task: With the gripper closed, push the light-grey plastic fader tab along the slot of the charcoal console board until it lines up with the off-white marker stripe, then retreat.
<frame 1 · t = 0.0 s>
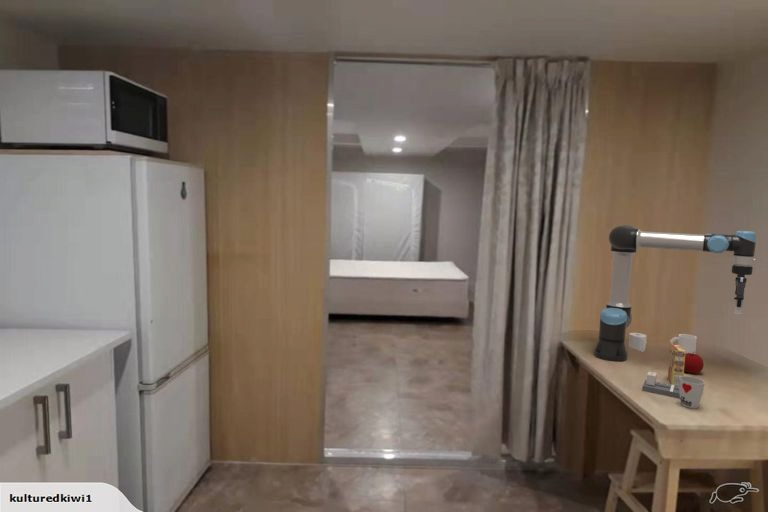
hand: (737, 311, 223), 28 cm above the table, fingers open, 13 cm apart
apple: (690, 372, 222), on the table
toilet paper: (637, 348, 258), on the table
fader tab: (651, 378, 200), point 4 cm above the table, slide at 0.0 cm
mug: (681, 354, 249), on the table
console: (668, 392, 197), on the table
cup: (689, 405, 185), on the table
candy box: (674, 382, 209), on the table
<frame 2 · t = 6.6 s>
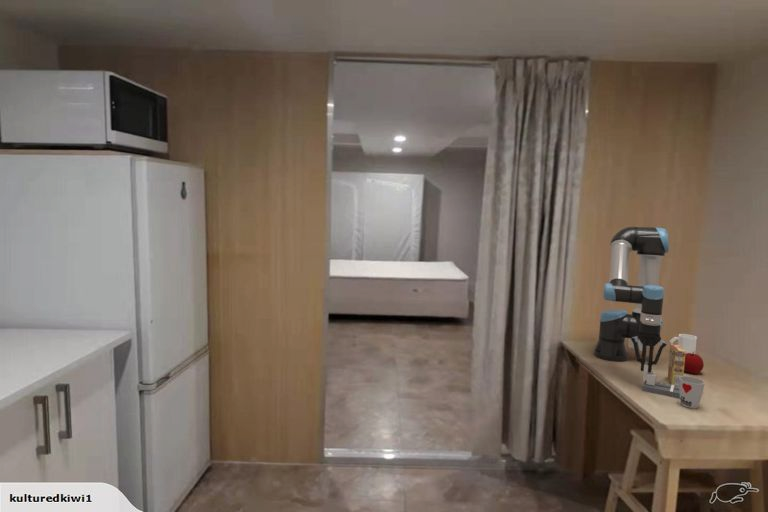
hand: (645, 379, 201), 4 cm above the table, fingers closed
fader tab: (651, 378, 200), point 4 cm above the table, slide at 0.0 cm, touching gripper
everything else where it was.
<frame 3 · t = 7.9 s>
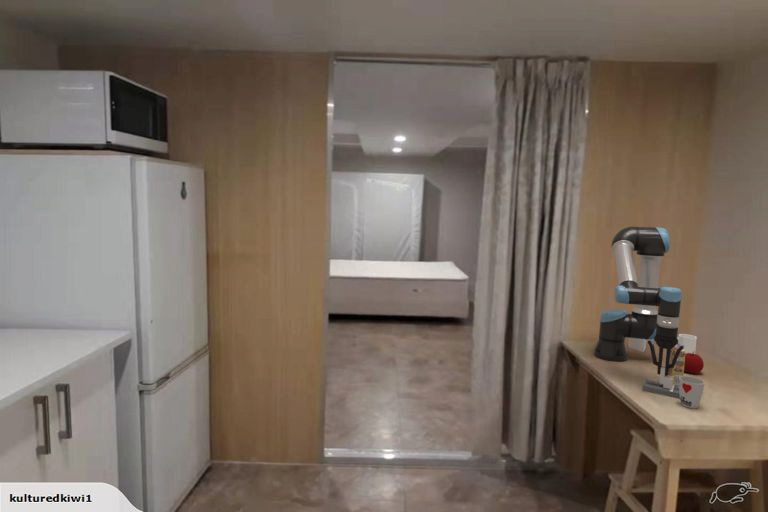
hand: (661, 382, 198), 3 cm above the table, fingers closed
fader tab: (668, 381, 197), point 4 cm above the table, slide at 6.0 cm, touching gripper
everything else where it was.
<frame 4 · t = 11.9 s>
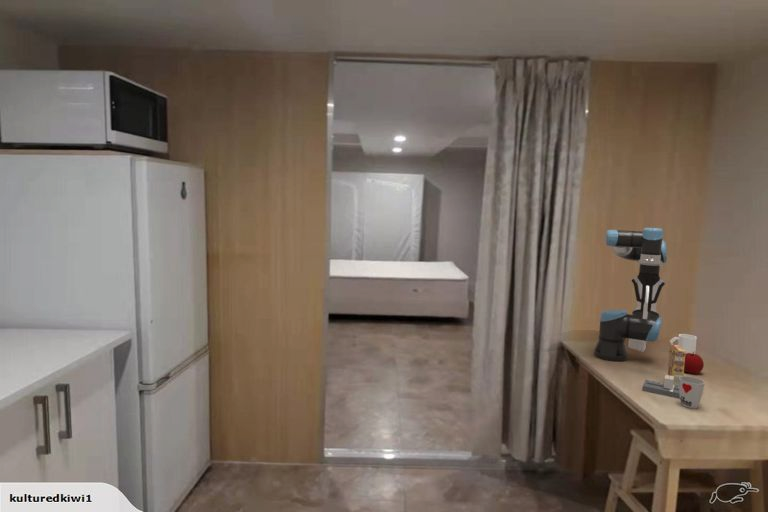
hand: (644, 318, 211), 26 cm above the table, fingers closed
fader tab: (668, 381, 197), point 4 cm above the table, slide at 6.2 cm
everything else where it was.
at the end: fader tab slide at 6.2 cm; the gripper is holding nothing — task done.
